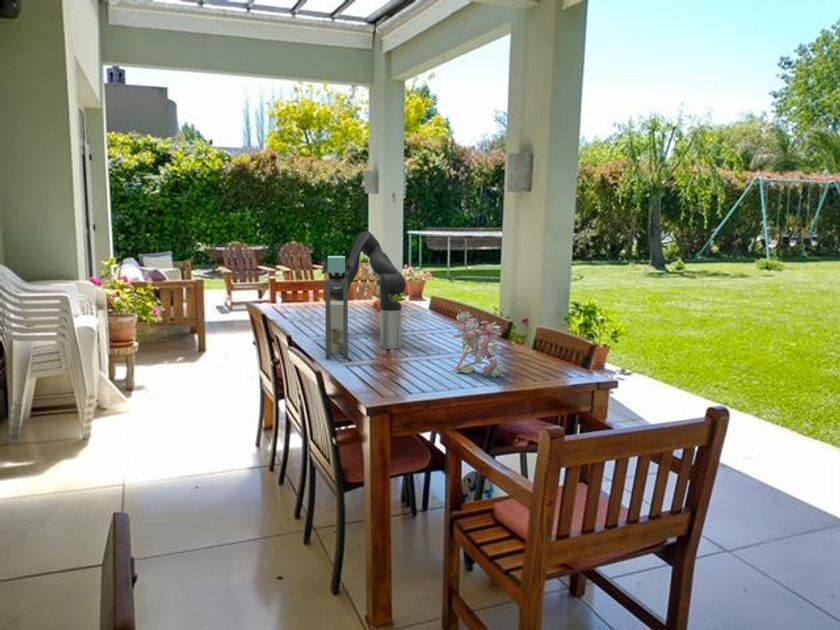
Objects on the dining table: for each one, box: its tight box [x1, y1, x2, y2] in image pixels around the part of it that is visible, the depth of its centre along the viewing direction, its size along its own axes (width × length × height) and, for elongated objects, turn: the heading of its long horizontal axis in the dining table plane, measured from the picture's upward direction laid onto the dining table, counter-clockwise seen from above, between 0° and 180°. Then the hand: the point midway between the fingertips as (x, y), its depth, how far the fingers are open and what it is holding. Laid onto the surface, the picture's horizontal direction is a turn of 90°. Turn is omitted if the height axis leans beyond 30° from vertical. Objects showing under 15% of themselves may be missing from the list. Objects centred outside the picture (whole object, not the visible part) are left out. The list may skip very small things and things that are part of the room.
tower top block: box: [330, 300, 343, 329], centre depth 285 cm, size 8×12×10 cm, turn 7°
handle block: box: [327, 255, 346, 273], centre depth 273 cm, size 7×21×6 cm, turn 7°
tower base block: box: [331, 329, 343, 353], centre depth 287 cm, size 8×12×10 cm, turn 7°
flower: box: [450, 308, 504, 378], centre depth 246 cm, size 20×22×25 cm
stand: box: [324, 278, 349, 360], centre depth 272 cm, size 9×12×32 cm
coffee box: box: [462, 313, 481, 354], centre depth 288 cm, size 9×6×16 cm
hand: (336, 261), depth 278 cm, fingers closed on handle block, 3 cm apart
